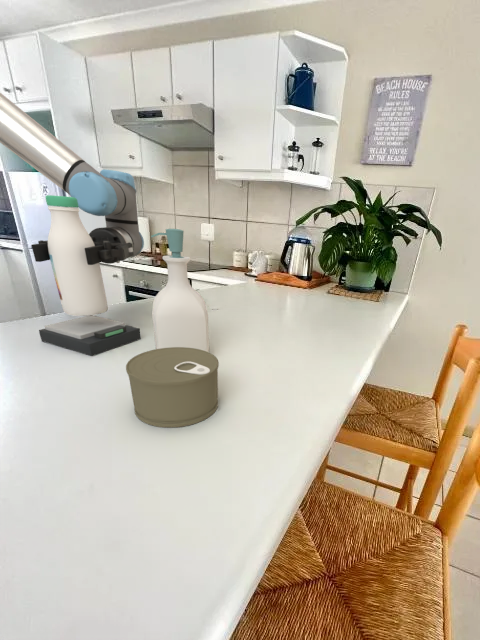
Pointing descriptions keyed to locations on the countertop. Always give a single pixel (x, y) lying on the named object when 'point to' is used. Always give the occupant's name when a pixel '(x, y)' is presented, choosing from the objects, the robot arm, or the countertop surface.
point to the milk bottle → (73, 260)
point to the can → (174, 386)
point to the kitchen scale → (89, 334)
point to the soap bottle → (179, 303)
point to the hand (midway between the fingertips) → (62, 254)
